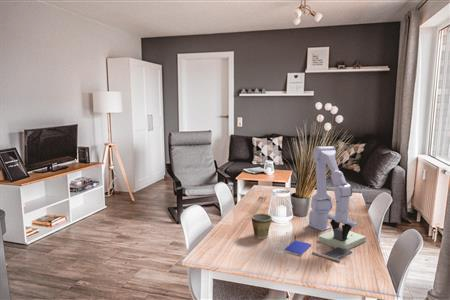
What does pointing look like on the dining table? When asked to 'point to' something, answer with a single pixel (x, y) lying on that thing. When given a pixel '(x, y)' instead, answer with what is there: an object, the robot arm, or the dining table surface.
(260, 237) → the ceramic cup
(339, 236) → the grey rectangular block
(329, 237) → the outlet plate
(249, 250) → the dining table surface
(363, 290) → the dining table surface
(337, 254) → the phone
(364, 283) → the dining table surface
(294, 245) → the hard drive
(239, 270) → the dining table surface
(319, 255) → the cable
